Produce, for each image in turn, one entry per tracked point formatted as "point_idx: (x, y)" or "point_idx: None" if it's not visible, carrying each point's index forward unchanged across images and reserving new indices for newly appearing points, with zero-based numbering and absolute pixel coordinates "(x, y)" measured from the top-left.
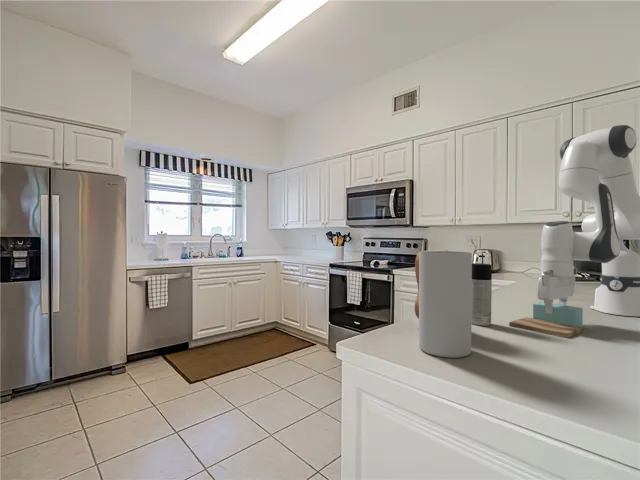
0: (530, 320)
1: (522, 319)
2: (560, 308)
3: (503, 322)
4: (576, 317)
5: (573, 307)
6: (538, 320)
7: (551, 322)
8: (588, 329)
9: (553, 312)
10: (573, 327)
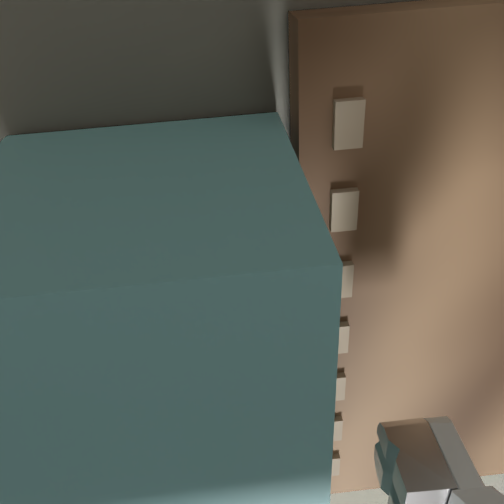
0: None
1: None
2: (332, 452)
3: (497, 487)
4: (257, 183)
5: (24, 409)
6: (352, 416)
7: (348, 334)
8: (78, 17)
9: (386, 426)
10: (417, 98)
